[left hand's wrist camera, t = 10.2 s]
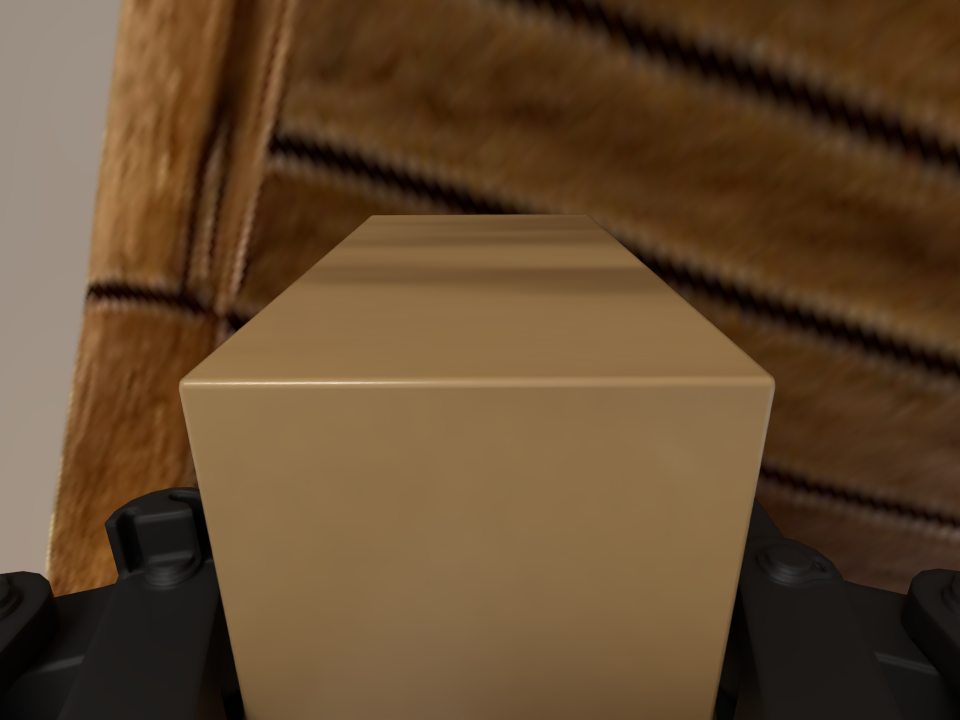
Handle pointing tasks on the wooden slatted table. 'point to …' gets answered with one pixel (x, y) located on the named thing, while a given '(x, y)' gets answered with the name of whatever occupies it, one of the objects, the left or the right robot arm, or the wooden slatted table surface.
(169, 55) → the wooden slatted table surface
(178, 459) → the wooden slatted table surface
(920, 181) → the wooden slatted table surface
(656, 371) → the bar
